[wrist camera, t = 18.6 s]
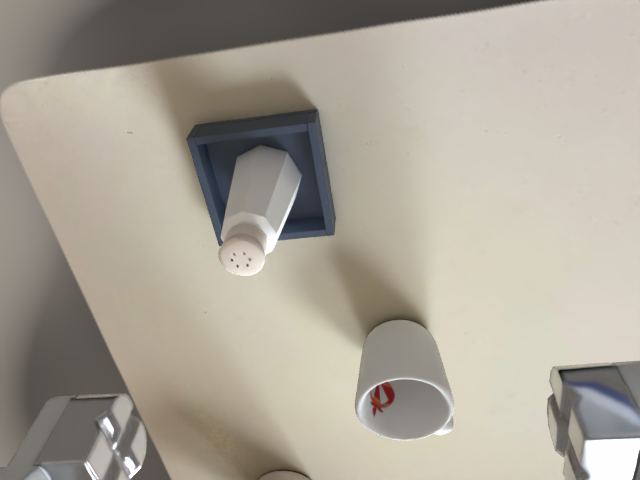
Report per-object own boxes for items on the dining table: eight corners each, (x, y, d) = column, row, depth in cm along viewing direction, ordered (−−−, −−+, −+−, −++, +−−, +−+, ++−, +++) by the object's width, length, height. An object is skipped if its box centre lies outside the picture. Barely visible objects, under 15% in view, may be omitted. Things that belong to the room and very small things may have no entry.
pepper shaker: (296, 139, 41) (277, 217, 32) (307, 204, 44) (292, 292, 34) (225, 147, 41) (185, 225, 32) (240, 210, 44) (208, 297, 35)
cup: (477, 363, 53) (493, 434, 46) (408, 398, 56) (415, 469, 49) (407, 293, 49) (414, 360, 42) (338, 335, 52) (334, 404, 45)
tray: (317, 109, 40) (315, 122, 38) (335, 218, 45) (334, 235, 43) (195, 124, 41) (186, 138, 39) (225, 229, 46) (219, 246, 44)
